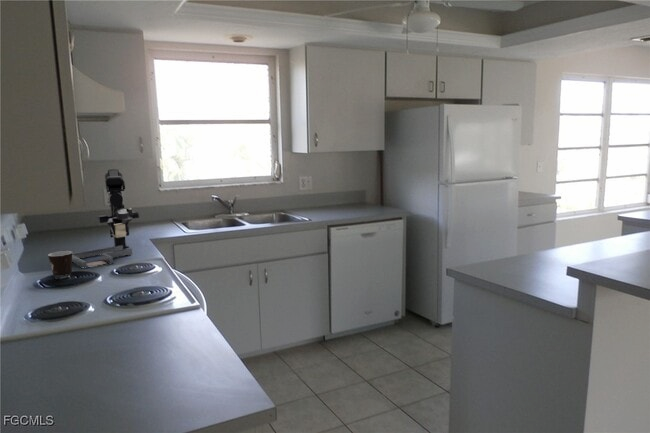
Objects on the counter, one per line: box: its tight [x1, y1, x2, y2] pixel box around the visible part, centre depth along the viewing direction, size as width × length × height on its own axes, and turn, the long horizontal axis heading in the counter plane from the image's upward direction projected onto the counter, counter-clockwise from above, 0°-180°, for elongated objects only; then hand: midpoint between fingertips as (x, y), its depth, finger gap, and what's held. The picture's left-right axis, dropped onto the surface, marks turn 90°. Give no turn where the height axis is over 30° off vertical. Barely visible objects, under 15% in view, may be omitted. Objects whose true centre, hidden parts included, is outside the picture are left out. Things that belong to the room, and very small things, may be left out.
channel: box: [72, 245, 133, 268], centre depth 222 cm, size 22×25×3 cm
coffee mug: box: [47, 250, 73, 275], centre depth 192 cm, size 12×9×10 cm
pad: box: [86, 260, 107, 265], centre depth 213 cm, size 7×8×1 cm
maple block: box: [112, 223, 127, 238], centre depth 230 cm, size 4×4×6 cm
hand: (119, 234), depth 231 cm, fingers closed on maple block, 4 cm apart
